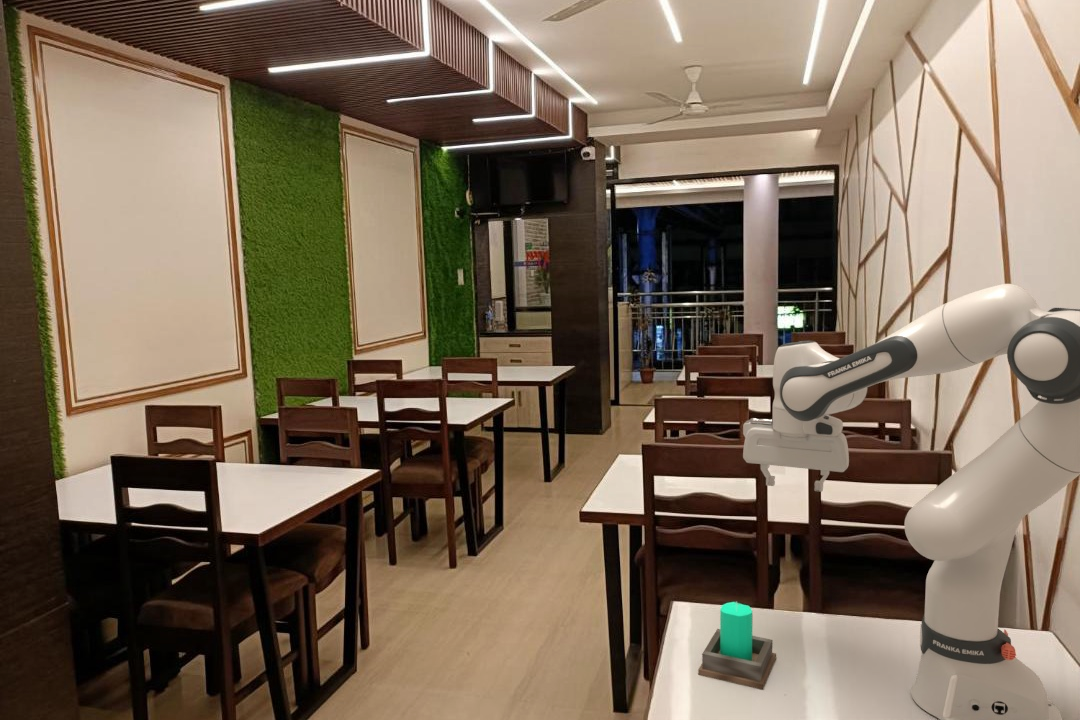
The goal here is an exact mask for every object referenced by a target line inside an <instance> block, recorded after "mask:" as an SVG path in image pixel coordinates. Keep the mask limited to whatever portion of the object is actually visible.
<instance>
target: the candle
mask: <svg viewBox="0 0 1080 720" xmlns="http://www.w3.org/2000/svg"><path fill="white" fill-rule="evenodd" d="M719 613H720V616H719V617H720V620H719V621H720V622H719V623H720V627H719V629H720V654H721V655H726V656H730V657H735V658H739V659H744V660H749V661H752V636H753V610H752V608H751V607H750V605H746V604H742V603H740V602H738V601H731V602H726V603H723V604H722V605H721V607H720V612H719Z"/></svg>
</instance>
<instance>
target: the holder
mask: <svg viewBox="0 0 1080 720" xmlns="http://www.w3.org/2000/svg"><path fill="white" fill-rule="evenodd" d="M773 648H774V647H773V639H770V638H765V637H761V636H756V635H752V661H749V660H744V659H739V658H735V657H730V656H726V655H721V654H720V628H717V629H716V630H715V632H714V633H713V635H712V637H711V638H710V640H709V642H708V643H707V645H706V647H705V648H704V650H703V651H702V654H701V655H702V657H701V659H702V662H701V664H700V666H699V667H698V670H697V671H698V673H697V674H698V675H699V676H703V677H707V678H712V679H717V680H721V681H725V682H730V683H734V684H738V685H742V686H747V687H749V688H754V687H755V689H759V690H764V688H765V686H766V684H767V681H768V678H769V676H770V674H771V671H772V669H773V667H774V665H775V662H776V659H777V653H776V652H773Z"/></svg>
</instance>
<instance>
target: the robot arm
mask: <svg viewBox="0 0 1080 720" xmlns="http://www.w3.org/2000/svg"><path fill="white" fill-rule="evenodd" d="M1002 355H1006V357H1007V362H1008V366H1009V368H1010V370H1011V371H1012V373H1013V374H1014V375H1015V377H1016V378H1017V379H1018V380H1019V382H1021V383H1022V384H1023V385H1024V386H1025V388H1026V389H1027V391H1028V392H1029V394H1030V396H1031V397H1032V398H1033V399H1034V400H1036V401H1038V402H1037V403H1036V405H1034V406H1033V407H1032V408H1031V409H1030V410H1029V411H1028V412H1027V413H1025V414H1024V415H1023V416H1022V417H1021V418H1020V419H1019V420H1018V421H1016V423H1014V424H1013V425H1012V426H1011V427H1009V428H1008V430H1006V432H1004V433H1003V434H1002V435H1001V436H1000V437H998V439H996V440H995V441H994V442H993V443H992V444H991V445H990V446H988V447H987V448H986V449H985V450H984V451H983V452H982V453H980V454H979V455H977V456H976V457H975V458H972V460H971V461H968V462H967V464H965V465H963V467H961V468H960V469H958V470H957V471H956V472H954V473H953V474H952V475H950V476H949V477H948V478H947V479H945V480H944V481H943V482H941V483H940V484H939V485H937V486H936V487H935V488H933V489H932V491H930V492H928V494H926V495H925V496H923V498H922V499H920V500H919V501H918V502H917V503H915V504H914V505H913V506H912V507H911V508H910V509H909V510H908V512H907V513H906V514H905V518H904V532H905V536H906V538H907V540H908V542H909V544H910V545H911V546H912V547H913V549H914V550H915V551H916V552H917V553H918V554H920V555H921V556H922V557H925V558H926V559H929V560H931V561H933V563H932V565H931V567H930V568H929V570H928V573H927V575H926V579H925V594H924V595H925V596H924V597H925V599H924V615H923V617H922V619H921V624H920V632H919V647H920V651H921V654H920V660H919V665H918V669H917V673H916V676H915V680H914V682H913V684H912V686H911V689H910V695H911V697H912V699H913V701H914V702H915V704H917V705H918V706H919V707H920V709H922V710H923V711H926V713H928V714H930V715H931V716H934V717H935V718H937V719H938V720H1063V716H1062V714H1061V712H1060V710H1059V708H1058V707H1057V706H1056V704H1055V703H1054V702H1052V700H1051V699H1050V698H1048V695H1047V692H1046V688H1045V686H1044V684H1043V682H1042V680H1041V678H1040V677H1039V675H1038V674H1037V673H1036V672H1035V671H1034V670H1033V669H1031V668H1030V667H1029V666H1027V664H1024V663H1023V662H1022V661H1021V660H1020V659H1018V657H1017V654H1016V648H1015V647H1014V646H1013V645H1012V640H1011V637H1010V636H1009V633H1008V632H1007V630H1006V629H1004V631H1002V630H1001V629H999V628H998V627H999V613H1000V599H1001V598H1000V597H1001V595H1000V594H1001V591H1002V590H1001V589H1002V585H1003V579H1004V575H1005V571H1006V568H1007V565H1008V563H1009V558H1010V556H1011V555H1010V554H1011V550H1012V546H1013V542H1014V539H1015V535H1016V533H1017V530H1018V528H1019V526H1020V524H1021V523H1022V520H1023V518H1024V517H1025V516H1026V515H1028V514H1030V513H1032V511H1034V510H1035V509H1037V508H1038V507H1040V506H1041V505H1043V504H1045V503H1046V502H1047V501H1049V499H1052V497H1054V496H1055V495H1056V494H1058V492H1060V491H1061V490H1063V488H1065V487H1066V486H1068V484H1070V483H1071V482H1072V481H1073V480H1075V479H1076V478H1077V477H1078V476H1080V308H1069V307H1067V308H1065V307H1052V308H1051V309H1049V310H1047V311H1045V310H1044V309H1042V308H1041V307H1040V306H1039V304H1038V303H1037V301H1036V299H1035V297H1034V296H1033V295H1032V294H1031V293H1030V292H1029V291H1028V290H1026V289H1024V288H1023V287H1022V286H1020V285H1016V284H1013V283H1001V284H998V285H993V286H992V285H991V286H990V287H985V288H983V289H979V290H976V291H973V292H970V293H967V294H964V295H961V296H959V297H957V298H954V299H952V300H950V301H948V302H946V303H943V304H941V305H939V306H937V307H935V308H934V309H932V310H929V311H928V312H927V313H924V314H923V315H920V316H919V317H918V318H915V320H913V321H911V322H909V323H908V324H906V325H905V326H903V327H901V328H899V329H898V330H896V331H894V332H893V333H890V334H889V335H887V336H886V337H884V338H882V339H881V340H879V341H877V342H875V343H873V344H871V345H869V346H865V348H862V349H859V350H858V351H855V352H852V353H851V354H848V355H846V356H843V357H841V358H840V357H837V356H834V355H833V354H831V353H829V352H828V351H825V350H824V349H823V348H822V347H821V346H820V345H819V343H818V342H816V341H814V340H804V341H803V340H802V341H796V342H788V343H783V344H781V345H780V346H778V348H777V350H776V352H775V355H774V360H773V371H772V373H773V374H772V386H773V391H774V399H773V402H772V418H756V417H751V418H750V419H748V420H746V421H745V422H744V423H743V424H742V426H743V427H742V434H743V436H744V443H743V448H742V449H743V451H742V452H743V453H742V458H743V460H744V461H745V463H747V464H757V465H758V464H759V465H760V471H761V472H762V475H763V476H764V477H765V486H767V487H774V486H775V485H776V476H775V475H771V473H770V471H769V468H770V466H776V467H777V466H778V467H787V468H797V469H807V470H817V471H820V476H822V477H821V478H820V480H814V489H813V490H814V491H815V492H821V493H822V492H823V491H824V482H826V479H827V478H828V476H829V475H830V472H837V473H844V472H845V471H846V470H847V469H848V467H849V465H850V464H849V463H850V459H849V458H850V456H849V455H850V453H849V446H848V441H847V437H846V435H845V434H844V433H843V432H842V431H843V428H844V423H843V420H841V419H840V418H837V417H835V416H833V415H832V414H837V413H840V412H845V411H849V410H851V409H853V408H856V407H858V406H859V405H862V403H863V402H864V401H865V399H866V398H867V395H868V390H869V387H871V386H874V385H876V384H879V383H880V384H881V383H883V382H887V381H892V380H898V379H906V378H912V377H913V378H914V377H915V378H916V377H922V376H923V377H925V376H931V375H932V376H933V375H939V374H945V373H950V372H955V371H960V370H964V369H966V368H969V367H972V366H976V365H978V364H980V363H984V362H987V361H989V360H991V359H994V358H996V357H999V356H1002ZM1040 397H1041V398H1040ZM831 415H832V416H831Z"/></svg>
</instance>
